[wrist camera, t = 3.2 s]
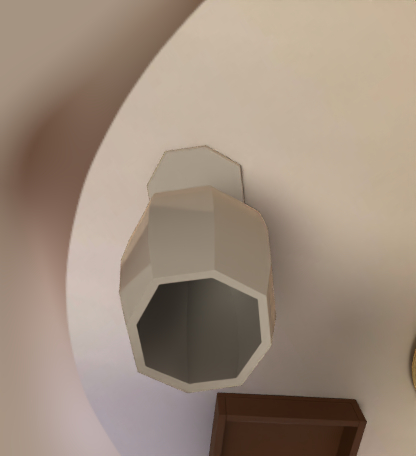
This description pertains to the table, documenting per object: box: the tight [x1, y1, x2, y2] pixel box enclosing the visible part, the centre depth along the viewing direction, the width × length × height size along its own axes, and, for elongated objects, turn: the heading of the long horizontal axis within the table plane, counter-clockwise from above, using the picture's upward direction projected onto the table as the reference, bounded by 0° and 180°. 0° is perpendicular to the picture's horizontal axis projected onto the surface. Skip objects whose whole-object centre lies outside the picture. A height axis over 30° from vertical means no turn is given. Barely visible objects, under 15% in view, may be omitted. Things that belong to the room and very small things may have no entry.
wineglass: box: [119, 145, 276, 393], centre depth 25 cm, size 9×9×21 cm
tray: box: [209, 393, 367, 456], centre depth 45 cm, size 16×14×3 cm
